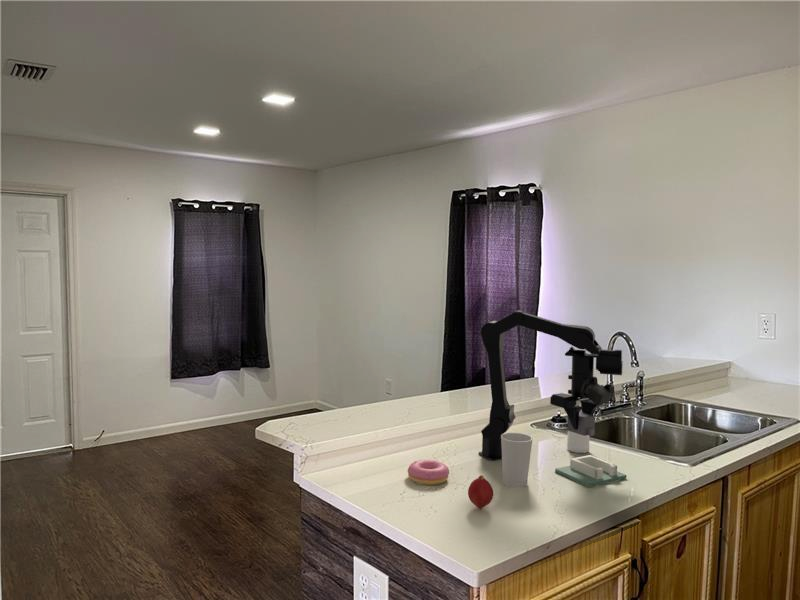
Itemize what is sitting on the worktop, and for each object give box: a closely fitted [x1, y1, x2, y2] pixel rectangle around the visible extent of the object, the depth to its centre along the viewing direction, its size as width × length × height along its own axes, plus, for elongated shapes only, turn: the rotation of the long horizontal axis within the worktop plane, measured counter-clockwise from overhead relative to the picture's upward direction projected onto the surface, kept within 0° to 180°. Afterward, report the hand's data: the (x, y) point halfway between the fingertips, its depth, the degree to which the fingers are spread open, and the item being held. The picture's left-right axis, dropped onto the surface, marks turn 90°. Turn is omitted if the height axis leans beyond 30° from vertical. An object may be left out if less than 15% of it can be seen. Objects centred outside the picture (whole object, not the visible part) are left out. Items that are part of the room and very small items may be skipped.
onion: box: [467, 474, 494, 510], centre depth 136 cm, size 6×6×8 cm
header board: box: [554, 454, 627, 488], centre depth 160 cm, size 14×12×4 cm
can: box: [566, 409, 591, 454], centre depth 181 cm, size 6×6×12 cm
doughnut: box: [407, 459, 450, 486], centre depth 154 cm, size 11×11×4 cm
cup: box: [501, 432, 533, 488], centre depth 153 cm, size 8×8×12 cm
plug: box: [567, 412, 596, 437], centre depth 163 cm, size 4×7×5 cm, turn 30°
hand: (581, 428), depth 164 cm, fingers closed on plug, 4 cm apart
